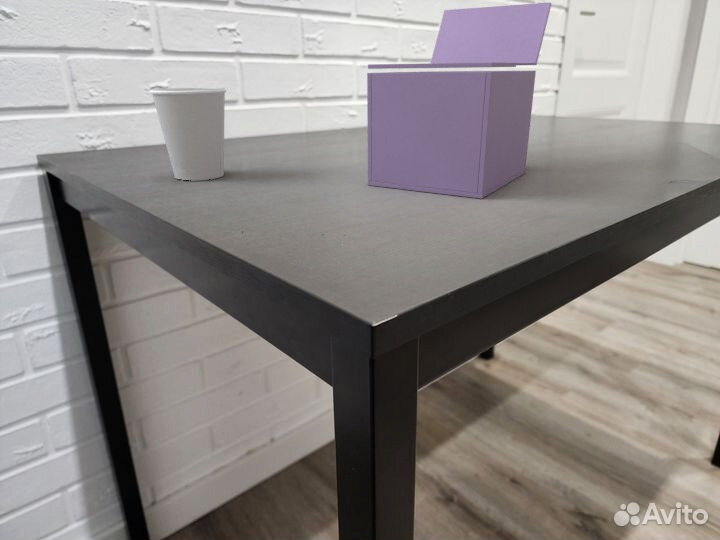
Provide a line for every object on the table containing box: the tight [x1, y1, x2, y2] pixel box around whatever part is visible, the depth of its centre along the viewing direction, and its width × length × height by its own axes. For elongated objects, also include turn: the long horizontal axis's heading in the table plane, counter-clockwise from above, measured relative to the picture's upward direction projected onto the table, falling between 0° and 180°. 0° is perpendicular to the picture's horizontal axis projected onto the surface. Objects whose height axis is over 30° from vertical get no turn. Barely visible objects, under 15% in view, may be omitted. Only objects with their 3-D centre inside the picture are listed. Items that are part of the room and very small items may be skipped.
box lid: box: [430, 2, 552, 66], centre depth 61 cm, size 7×13×1 cm
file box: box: [366, 62, 537, 200], centre depth 57 cm, size 15×13×12 cm
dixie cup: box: [149, 86, 227, 182], centre depth 60 cm, size 8×8×10 cm
